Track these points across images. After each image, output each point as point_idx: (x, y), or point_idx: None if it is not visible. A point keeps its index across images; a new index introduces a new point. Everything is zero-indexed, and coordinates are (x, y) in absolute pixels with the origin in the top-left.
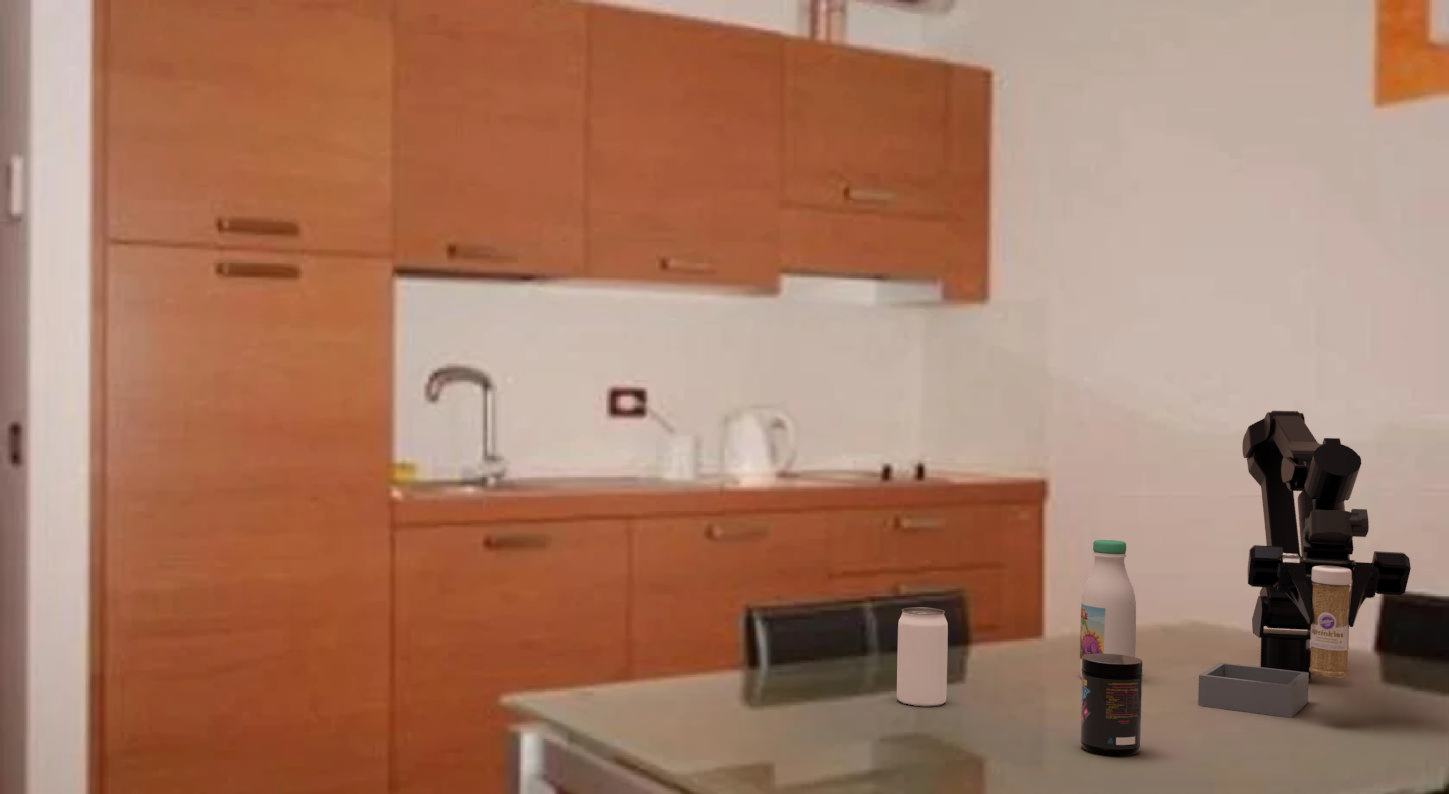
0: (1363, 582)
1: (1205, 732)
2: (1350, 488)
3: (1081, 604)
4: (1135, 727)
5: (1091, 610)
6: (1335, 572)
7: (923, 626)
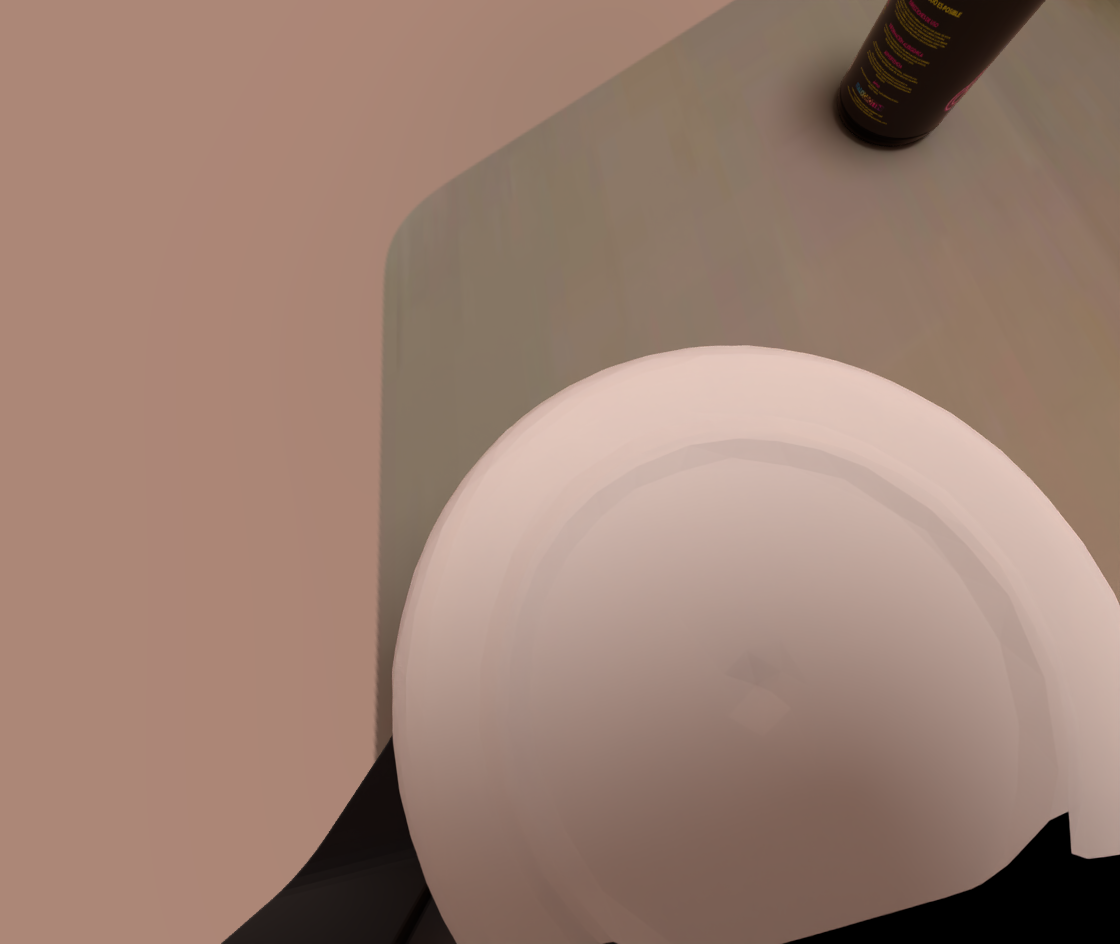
0: (324, 874)
1: (798, 335)
2: None
3: None
4: (868, 36)
5: None
6: (620, 365)
7: None
